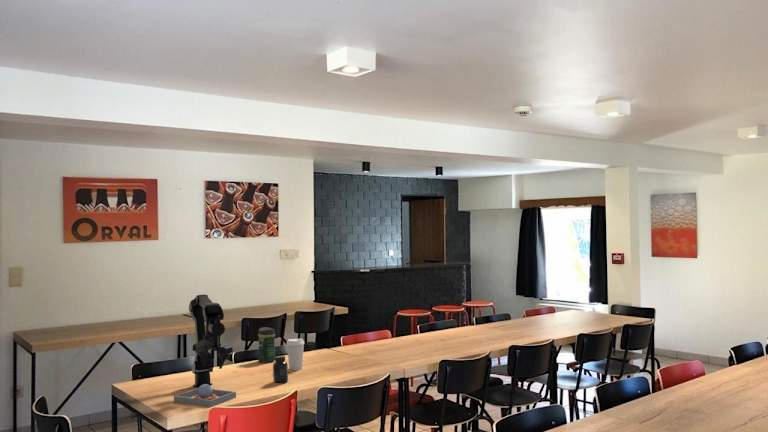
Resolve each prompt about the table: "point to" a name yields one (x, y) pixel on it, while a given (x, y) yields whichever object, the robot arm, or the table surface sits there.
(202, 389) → the ball
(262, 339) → the coffee jar
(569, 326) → the table surface
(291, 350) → the coffee cup
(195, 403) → the grey rectangular frame
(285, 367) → the supplement bottle
